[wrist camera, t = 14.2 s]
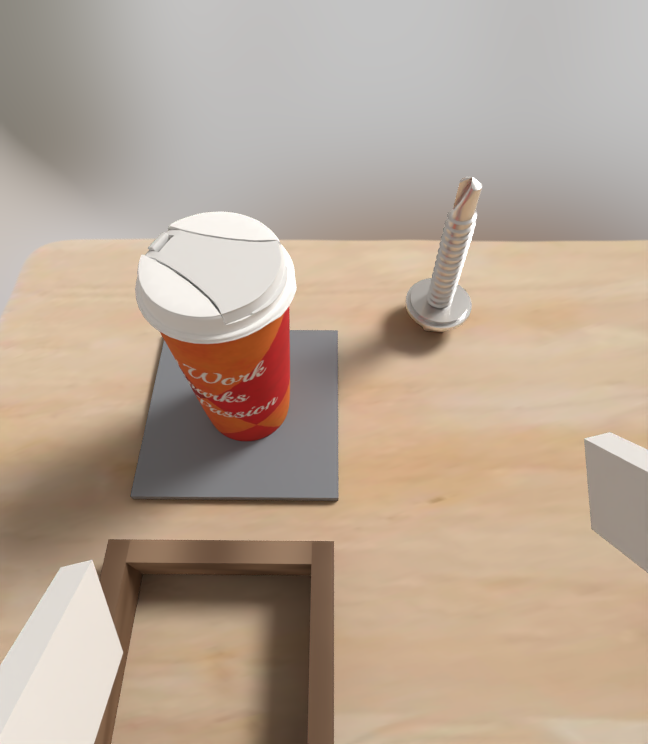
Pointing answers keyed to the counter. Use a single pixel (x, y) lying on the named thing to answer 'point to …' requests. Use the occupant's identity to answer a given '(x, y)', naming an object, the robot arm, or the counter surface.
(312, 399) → the slate mat
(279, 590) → the counter surface
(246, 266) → the paper cup
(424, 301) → the screw
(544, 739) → the counter surface
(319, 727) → the cup holder
